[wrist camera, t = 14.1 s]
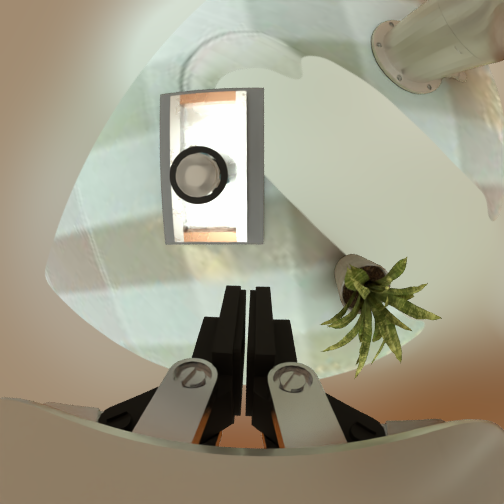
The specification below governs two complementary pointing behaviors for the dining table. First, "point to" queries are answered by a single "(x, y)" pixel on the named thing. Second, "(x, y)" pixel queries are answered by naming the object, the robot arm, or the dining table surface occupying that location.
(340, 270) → the house plant
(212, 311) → the dining table surface
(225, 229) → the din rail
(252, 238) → the panel
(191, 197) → the round cylindrical fitting
